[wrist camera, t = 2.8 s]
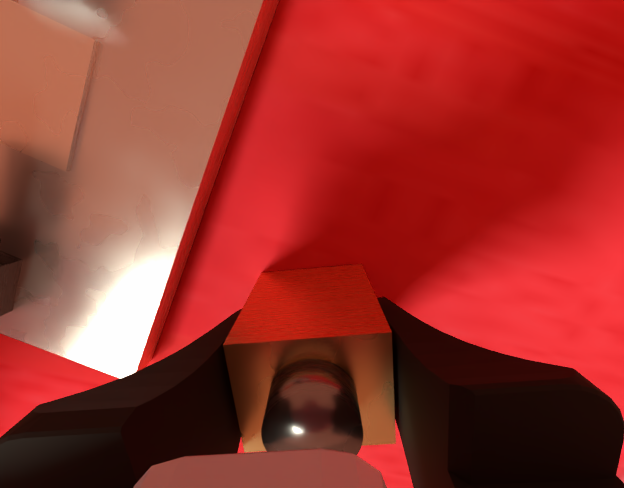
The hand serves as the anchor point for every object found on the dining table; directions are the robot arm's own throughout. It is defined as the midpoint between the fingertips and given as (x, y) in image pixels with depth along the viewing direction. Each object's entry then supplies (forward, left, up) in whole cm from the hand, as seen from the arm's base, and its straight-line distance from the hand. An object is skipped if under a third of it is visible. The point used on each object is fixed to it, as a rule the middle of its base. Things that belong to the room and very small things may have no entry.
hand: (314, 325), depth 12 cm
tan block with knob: (0, 0, -2) cm, 2 cm away
